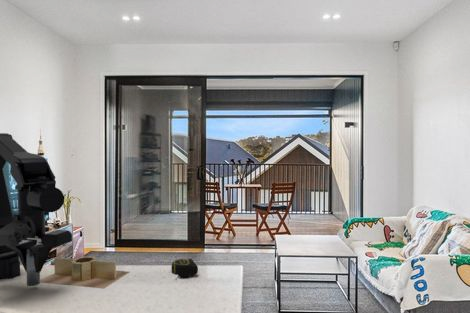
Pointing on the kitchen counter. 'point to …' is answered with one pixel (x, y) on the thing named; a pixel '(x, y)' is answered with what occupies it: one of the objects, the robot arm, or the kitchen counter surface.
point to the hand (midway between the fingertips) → (33, 271)
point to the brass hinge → (85, 268)
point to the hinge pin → (31, 268)
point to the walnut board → (87, 283)
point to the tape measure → (184, 267)
